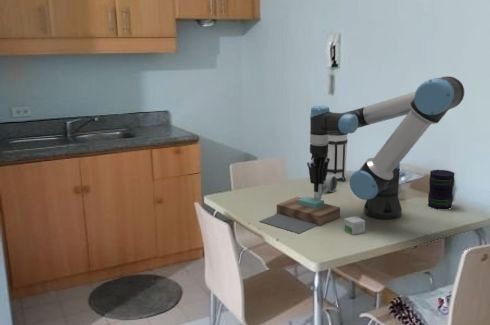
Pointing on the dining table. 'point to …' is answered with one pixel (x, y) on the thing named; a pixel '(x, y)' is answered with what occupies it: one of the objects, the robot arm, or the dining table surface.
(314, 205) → the card
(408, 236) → the dining table surface
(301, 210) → the board
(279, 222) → the mat
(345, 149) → the coffee press
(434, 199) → the storage jar
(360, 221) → the small box
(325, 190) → the ceramic mug
